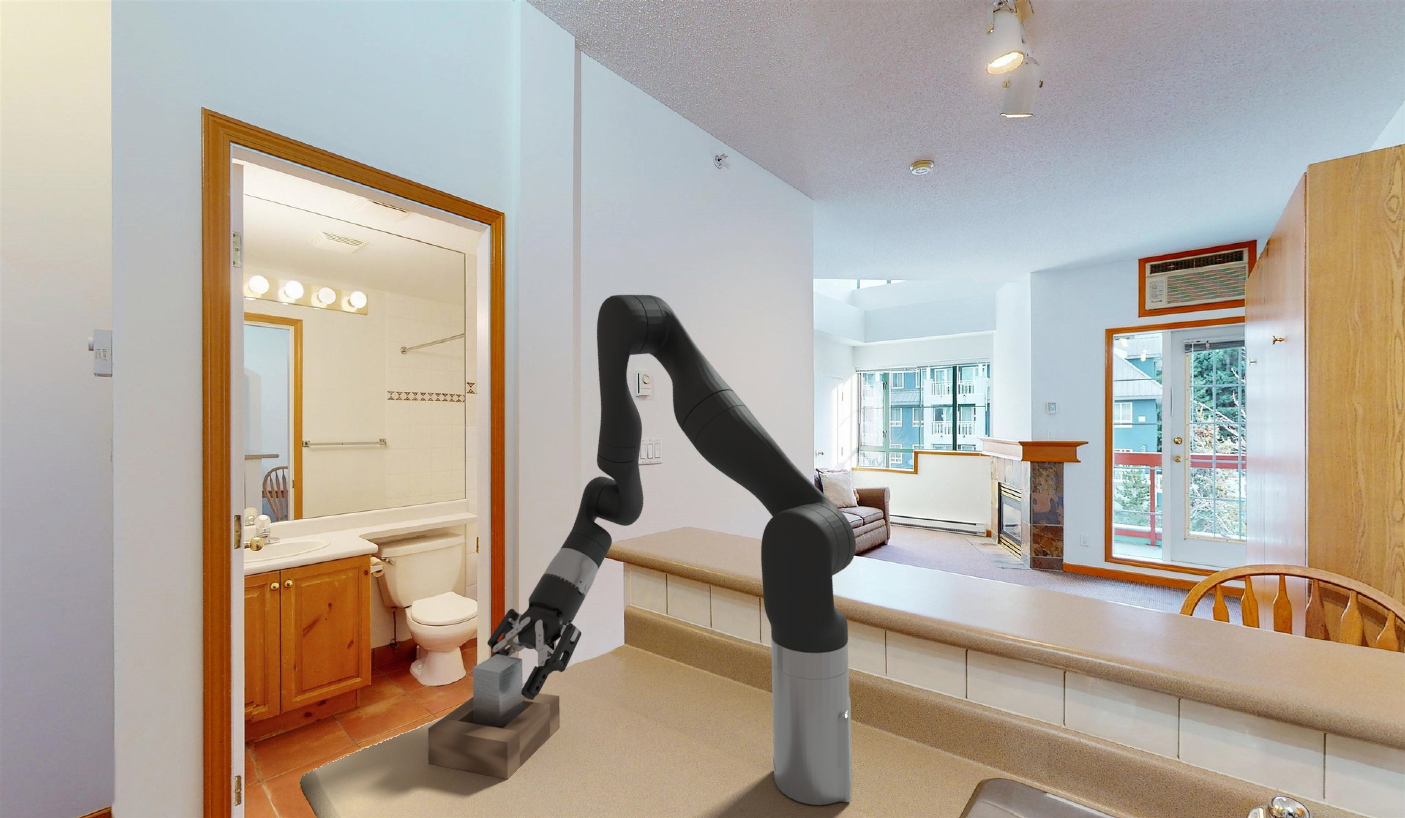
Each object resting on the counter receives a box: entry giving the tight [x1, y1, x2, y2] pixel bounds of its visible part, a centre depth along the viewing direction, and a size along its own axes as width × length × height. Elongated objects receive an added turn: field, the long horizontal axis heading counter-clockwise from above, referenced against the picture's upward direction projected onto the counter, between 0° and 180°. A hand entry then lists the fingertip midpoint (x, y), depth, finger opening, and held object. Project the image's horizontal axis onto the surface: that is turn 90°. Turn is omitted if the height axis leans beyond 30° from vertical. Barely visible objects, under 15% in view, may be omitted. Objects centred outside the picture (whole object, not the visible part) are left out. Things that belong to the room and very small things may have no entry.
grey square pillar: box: [472, 654, 524, 729], centre depth 77 cm, size 4×4×11 cm
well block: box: [427, 692, 561, 780], centre depth 77 cm, size 12×12×4 cm
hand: (505, 689), depth 78 cm, fingers open, 8 cm apart
